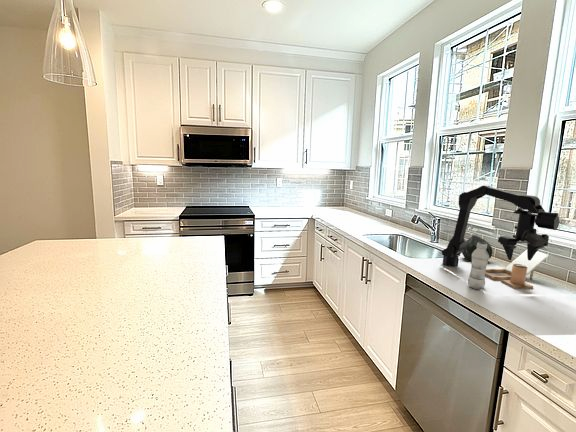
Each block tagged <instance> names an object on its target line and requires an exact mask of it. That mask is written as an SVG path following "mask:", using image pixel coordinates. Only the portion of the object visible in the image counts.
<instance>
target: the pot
mask: <svg viewBox="0 0 576 432" xmlns="http://www.w3.org/2000/svg"><path fill="white" fill-rule="evenodd" d="M527 268H528V267H527V266H525V265H521V264H513V266H512V272H511V278H510V282H511V283H513V284H516V285H524V284H525V283H526V277H527V275H526V273H527Z"/></svg>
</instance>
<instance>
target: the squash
mask: <svg viewBox="0 0 576 432" xmlns="http://www.w3.org/2000/svg"><path fill="white" fill-rule="evenodd" d="M465 242H468V243H467V245H466V249H465V250H464V252H462V253H461V254H462V256H463V257H464V259H466V260H468V261H471V262H472V253H473V251H474V250H476V249H477V247H476V246H477V243H478V242H480V243H486V244H487V249H486V251H487V252H488V254H489V259H488V260H490V259H491V258H492V256H493V248H492V246H491V244H490V243H489V242H488V241H487V240H485V239H484V238H482V237H480V236H478V235H474V234H473V235H472V236H470V237H469V238H468V239H467V240H466V241H465Z"/></svg>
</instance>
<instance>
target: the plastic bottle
mask: <svg viewBox="0 0 576 432" xmlns="http://www.w3.org/2000/svg"><path fill="white" fill-rule="evenodd" d="M476 247H477V249H476V250H474V251H473V253H472V261H471V269H470V272H469V276H468V278H467V285H468V287H469V288H471V289H474V290H480V291H481V290H483V289H485V287H486V276H485V271H486V269H487V266H488V263H489V260H490V259H489V254H488V252H487V251H486V249H487V244H486V243H480V242H478V243H477V246H476Z"/></svg>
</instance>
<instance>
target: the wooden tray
mask: <svg viewBox="0 0 576 432" xmlns="http://www.w3.org/2000/svg"><path fill="white" fill-rule="evenodd" d="M485 278H487V279H490V280H492V281H501V280H510V278H511V271H509V270H506V269H505V268H486V271H485Z"/></svg>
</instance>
